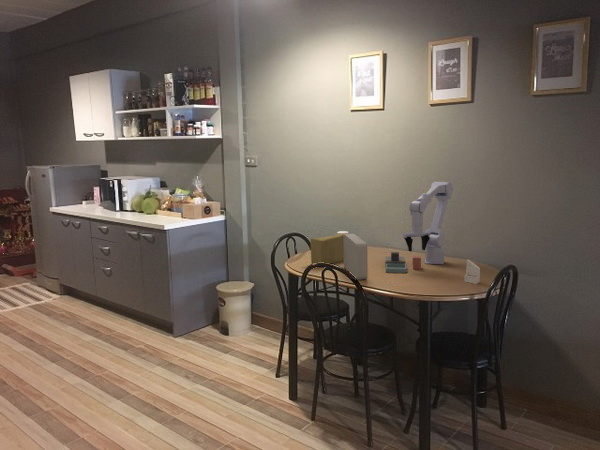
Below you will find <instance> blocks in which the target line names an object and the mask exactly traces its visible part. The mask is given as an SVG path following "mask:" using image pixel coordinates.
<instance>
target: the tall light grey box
mask: <svg viewBox="0 0 600 450" xmlns="http://www.w3.org/2000/svg"><path fill="white" fill-rule="evenodd" d="M343 241H344V261H343V266H344V268H345V270H348V271H349V272H351V273H352V274H353V275H354V276H355V277H356V279H357V280H358V281H359V280H367V279H368V274H369V273H368V269H369V268H368V261H369V260H368V255H369V254H368V253H369V252H368V244H367V242H365V241H364V240H363V239H362V238H360V237H359V236H358V235H356V234H355V233H348V234H344V238H343ZM348 271H347V272H348ZM349 272H348V273H349ZM356 279H355V280H356ZM357 280H356V281H357Z"/></svg>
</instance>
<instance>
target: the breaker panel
mask: <svg viewBox="0 0 600 450" xmlns="http://www.w3.org/2000/svg"><path fill="white" fill-rule="evenodd" d="M386 264H406V261H405V256H399V261H391V256H385V261H384V265H385V268H386Z"/></svg>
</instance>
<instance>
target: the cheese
mask: <svg viewBox="0 0 600 450" xmlns="http://www.w3.org/2000/svg"><path fill="white" fill-rule="evenodd" d="M343 238H344V234H338V235H337V234H333V235H329V236H323V237H322V236H321V237H312V238H310V260H311V262H310V263H311V265H313V263H318V262H324V263H333V264H336V262H337V263H340V261H341V262H344V241H343Z"/></svg>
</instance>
